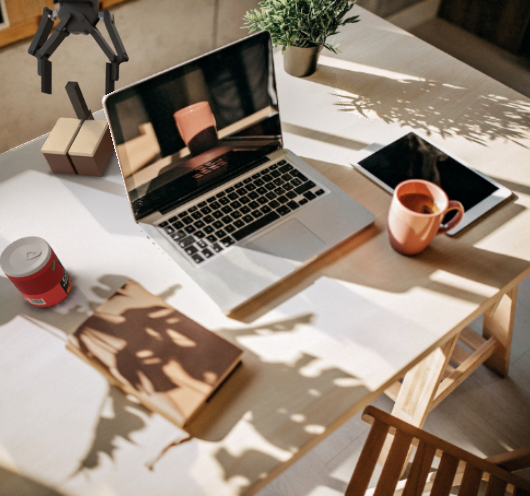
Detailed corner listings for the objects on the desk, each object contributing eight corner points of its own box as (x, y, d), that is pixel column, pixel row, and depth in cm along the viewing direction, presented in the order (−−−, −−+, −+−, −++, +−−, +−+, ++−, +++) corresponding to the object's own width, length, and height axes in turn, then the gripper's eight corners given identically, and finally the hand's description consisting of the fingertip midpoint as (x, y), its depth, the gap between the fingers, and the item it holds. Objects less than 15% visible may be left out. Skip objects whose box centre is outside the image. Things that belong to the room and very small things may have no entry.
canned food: (80, 294, 87) (56, 258, 78) (35, 317, 84) (6, 283, 75) (64, 264, 91) (40, 227, 82) (21, 286, 88) (-8, 250, 79)
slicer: (93, 129, 111) (71, 75, 100) (102, 130, 111) (81, 75, 99) (84, 148, 108) (60, 93, 96) (93, 148, 107) (70, 94, 96)
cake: (70, 141, 110) (59, 117, 105) (117, 145, 109) (108, 120, 104) (53, 173, 104) (40, 149, 99) (102, 177, 103) (91, 153, 98)
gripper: (8, -26, 95) (9, 88, 98) (132, -22, 92) (129, 96, 96) (30, -12, 102) (31, 94, 106) (146, -7, 100) (143, 101, 103)
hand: (77, 95), depth 101 cm, fingers open, 13 cm apart
